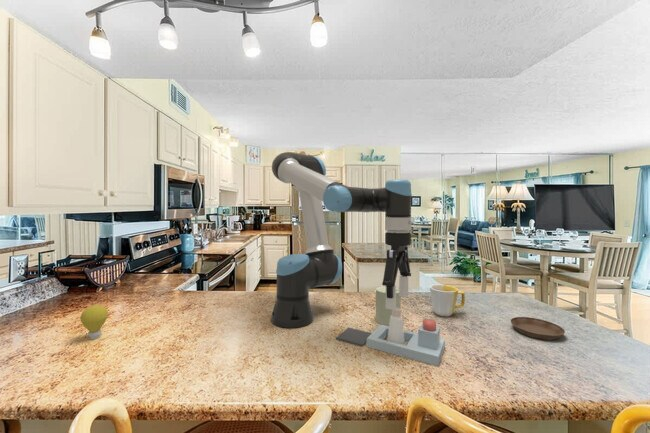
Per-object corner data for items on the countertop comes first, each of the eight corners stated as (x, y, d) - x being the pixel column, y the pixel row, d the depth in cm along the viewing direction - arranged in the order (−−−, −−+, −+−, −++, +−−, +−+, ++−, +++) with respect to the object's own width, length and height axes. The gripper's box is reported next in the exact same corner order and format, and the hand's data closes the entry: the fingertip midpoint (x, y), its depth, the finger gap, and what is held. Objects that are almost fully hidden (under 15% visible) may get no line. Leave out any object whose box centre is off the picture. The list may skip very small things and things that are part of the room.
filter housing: (366, 346, 85) (367, 323, 85) (380, 332, 96) (380, 311, 95) (438, 366, 75) (438, 339, 75) (444, 347, 85) (445, 324, 85)
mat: (336, 339, 90) (336, 337, 90) (348, 329, 98) (348, 327, 98) (362, 346, 85) (362, 344, 85) (373, 335, 93) (373, 333, 93)
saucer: (563, 347, 87) (563, 339, 86) (506, 333, 97) (506, 325, 96) (566, 332, 97) (566, 324, 97) (514, 320, 107) (514, 313, 107)
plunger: (421, 329, 81) (421, 322, 81) (423, 325, 84) (424, 318, 84) (434, 332, 79) (434, 325, 79) (436, 327, 82) (437, 320, 82)
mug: (433, 318, 108) (434, 290, 108) (426, 309, 118) (426, 283, 118) (471, 319, 107) (472, 292, 107) (460, 310, 117) (461, 284, 117)
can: (401, 326, 100) (402, 292, 100) (374, 324, 102) (375, 290, 102) (400, 317, 109) (400, 285, 109) (375, 315, 111) (375, 284, 111)
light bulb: (113, 335, 91) (113, 303, 91) (90, 344, 85) (89, 310, 84) (98, 331, 93) (98, 301, 93) (75, 340, 87) (74, 307, 86)
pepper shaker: (408, 344, 87) (409, 308, 87) (399, 350, 83) (400, 313, 83) (392, 338, 91) (393, 304, 90) (383, 344, 87) (383, 308, 86)
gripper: (398, 235, 73) (398, 317, 74) (420, 230, 95) (419, 294, 95) (370, 233, 77) (370, 312, 77) (397, 229, 99) (397, 290, 99)
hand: (397, 302), depth 86 cm, fingers open, 13 cm apart
